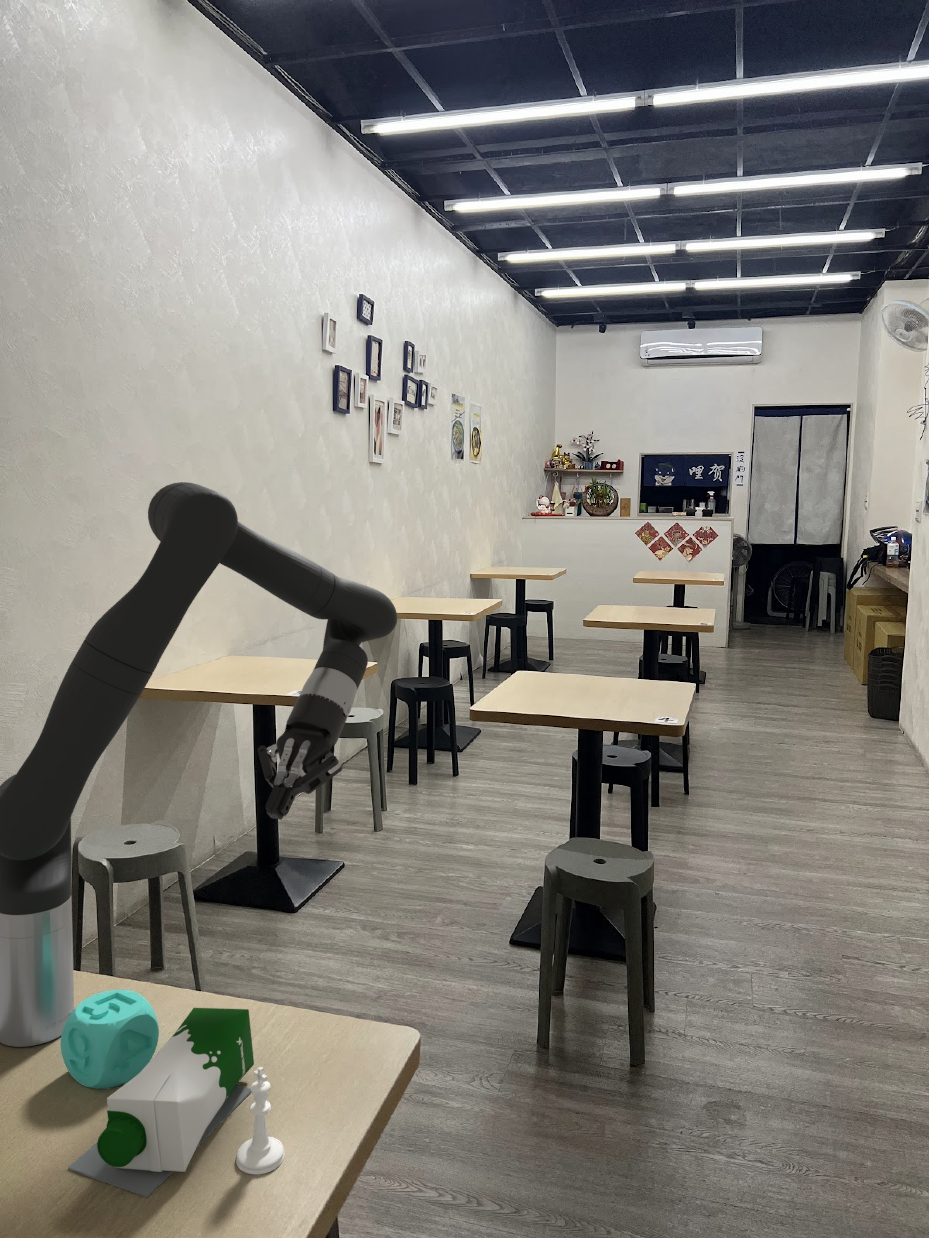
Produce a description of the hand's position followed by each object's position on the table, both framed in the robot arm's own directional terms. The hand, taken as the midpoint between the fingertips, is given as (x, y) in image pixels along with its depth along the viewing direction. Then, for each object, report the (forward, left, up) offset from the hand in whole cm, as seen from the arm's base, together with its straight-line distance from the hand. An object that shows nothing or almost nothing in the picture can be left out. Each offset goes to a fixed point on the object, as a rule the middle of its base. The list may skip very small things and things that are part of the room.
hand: (273, 816), depth 118 cm
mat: (+2, -24, -28) cm, 36 cm away
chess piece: (+14, -24, -28) cm, 39 cm away
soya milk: (+1, -13, -23) cm, 26 cm away
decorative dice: (-11, -18, -28) cm, 35 cm away
